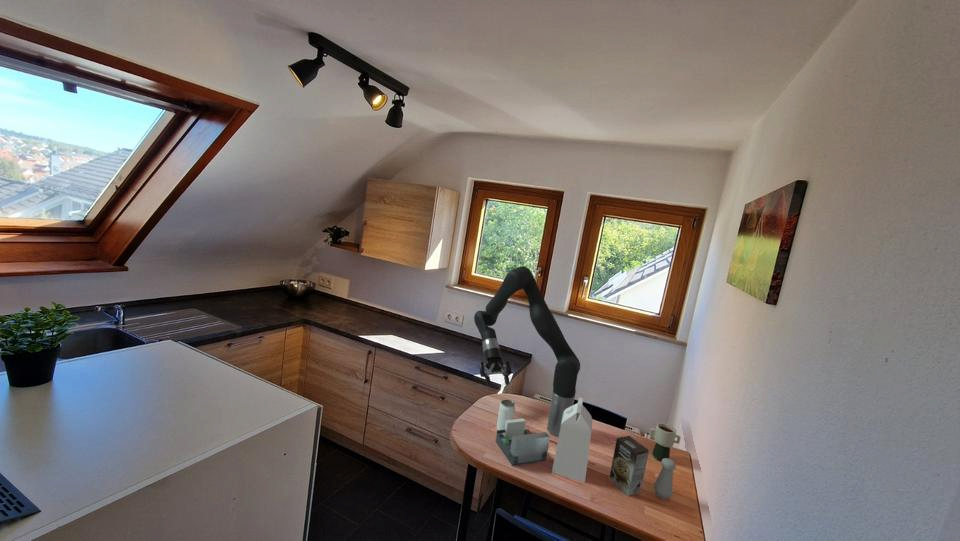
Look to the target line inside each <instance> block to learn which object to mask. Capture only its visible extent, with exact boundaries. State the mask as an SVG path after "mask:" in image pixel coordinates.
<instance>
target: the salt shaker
mask: <svg viewBox="0 0 960 541" xmlns="http://www.w3.org/2000/svg"><path fill="white" fill-rule="evenodd" d="M660 464H661V466H662V467H661V469H660V472H659V473H658V476H657V478H656V479H655V482H654V483H653V489H654V493H655V495H656V496H657V497H658V498H659V499H662V500H668V499H670V497H671V496H672V495H673V493H674V492H673V489H674V488H673V485H674V484H673V479H674V471H675V470H676V467H677V466H676V462H675V461H674V460H673V459H670V458H669V459H668V458H664V459H662V461H661V463H660Z"/></svg>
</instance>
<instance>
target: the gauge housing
mask: <svg viewBox="0 0 960 541" xmlns="http://www.w3.org/2000/svg"><path fill="white" fill-rule="evenodd" d="M550 437H551V436H550V435H549V433H547V432H546V431H545V432H538V433H537V432H535V433H532V431H531V430H529V428H525V430H524V435H518V436H512V440H509V441H508V440H507V439H506V438H505V436H504V435H503V433H498V434H497V433H496V436H495V443H496V444H497V446H498V447H499V449H500V450H501V451H502V454H504V456H505V458H506V459H507V460H508V462H509V463H510V465H511V466H512V467H514V466H515V467H516V465H517V466H522V465H528V464H534V463H536V464H537V463H541V462H546V461H547V457H548V451H549V445H550V439H551V438H550Z"/></svg>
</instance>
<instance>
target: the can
mask: <svg viewBox="0 0 960 541" xmlns="http://www.w3.org/2000/svg"><path fill="white" fill-rule="evenodd" d="M515 411H516V405H515V402H514V401H512V400H511V399H510V400H509V399H503V400H501V401H500V404H499V408H498V416H497V422H496V431H497V430H504V427H505V420H512V419H515V413H516V412H515ZM502 434H504V433H502Z"/></svg>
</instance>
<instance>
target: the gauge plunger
mask: <svg viewBox="0 0 960 541" xmlns="http://www.w3.org/2000/svg"><path fill="white" fill-rule="evenodd" d="M525 429H526V420H525V418H524V417H523V418H514V419H512V420H505V427H504V430H497V429H496V435H497V434H498V433H502V434H503V433H504V434H503V435H504V436H505V438H506V439H507V440H508V441H509V440H512V436H518V435H524V430H525Z"/></svg>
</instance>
